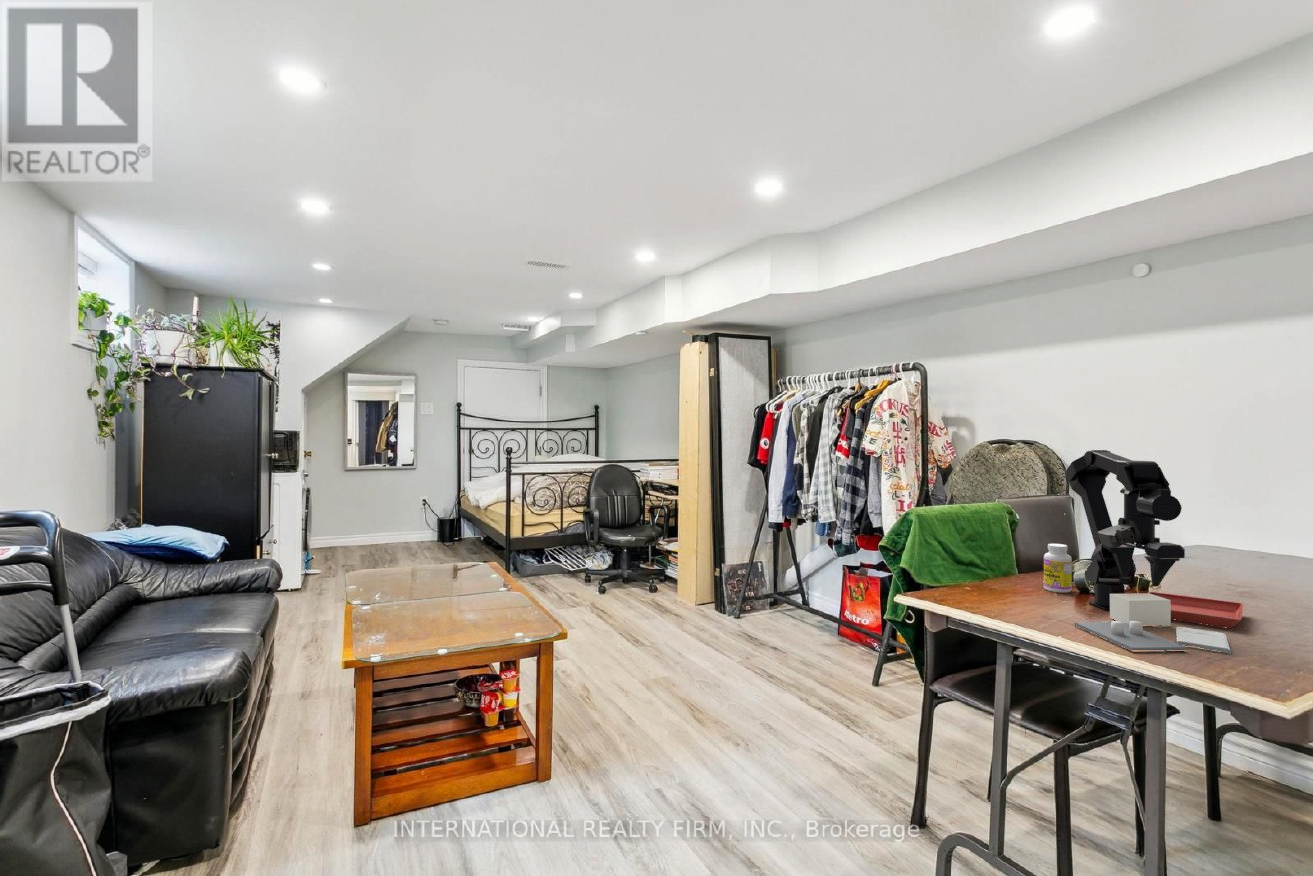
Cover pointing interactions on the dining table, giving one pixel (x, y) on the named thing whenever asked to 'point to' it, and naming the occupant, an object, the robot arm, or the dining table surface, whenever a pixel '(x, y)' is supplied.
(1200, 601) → the plant saucer
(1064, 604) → the dining table surface
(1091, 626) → the base plate
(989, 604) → the dining table surface
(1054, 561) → the supplement bottle
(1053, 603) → the dining table surface
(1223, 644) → the external hard drive
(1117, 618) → the block
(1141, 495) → the robot arm
